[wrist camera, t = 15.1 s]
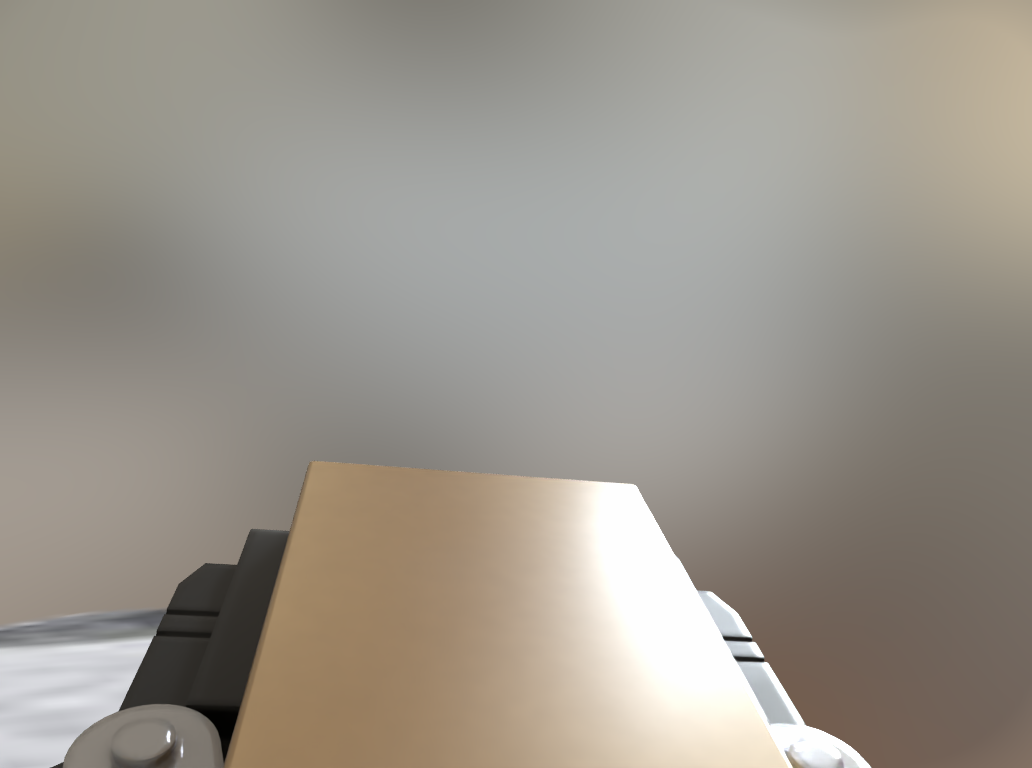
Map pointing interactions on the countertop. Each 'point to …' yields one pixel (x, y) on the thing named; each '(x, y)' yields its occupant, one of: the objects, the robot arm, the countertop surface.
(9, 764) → the countertop surface
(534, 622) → the light brown wooden block
